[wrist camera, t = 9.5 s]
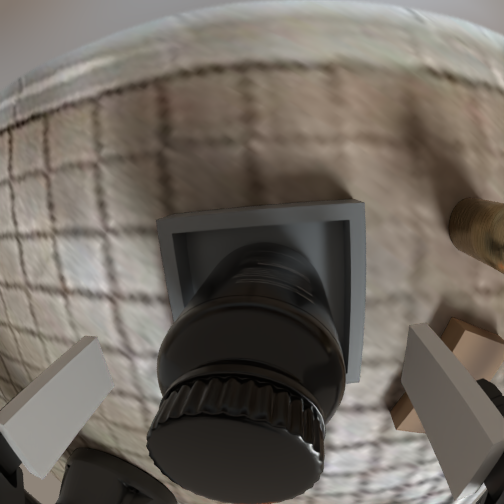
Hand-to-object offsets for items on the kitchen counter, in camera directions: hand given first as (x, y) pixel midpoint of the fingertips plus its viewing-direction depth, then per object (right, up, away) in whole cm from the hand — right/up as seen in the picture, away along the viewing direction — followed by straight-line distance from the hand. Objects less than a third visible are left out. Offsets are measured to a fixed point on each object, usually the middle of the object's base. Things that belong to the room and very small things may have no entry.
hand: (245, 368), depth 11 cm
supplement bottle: (+1, +2, +7) cm, 7 cm away
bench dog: (+14, +6, +4) cm, 16 cm away
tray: (+1, +2, +7) cm, 7 cm away
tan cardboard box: (+15, -5, +8) cm, 18 cm away
